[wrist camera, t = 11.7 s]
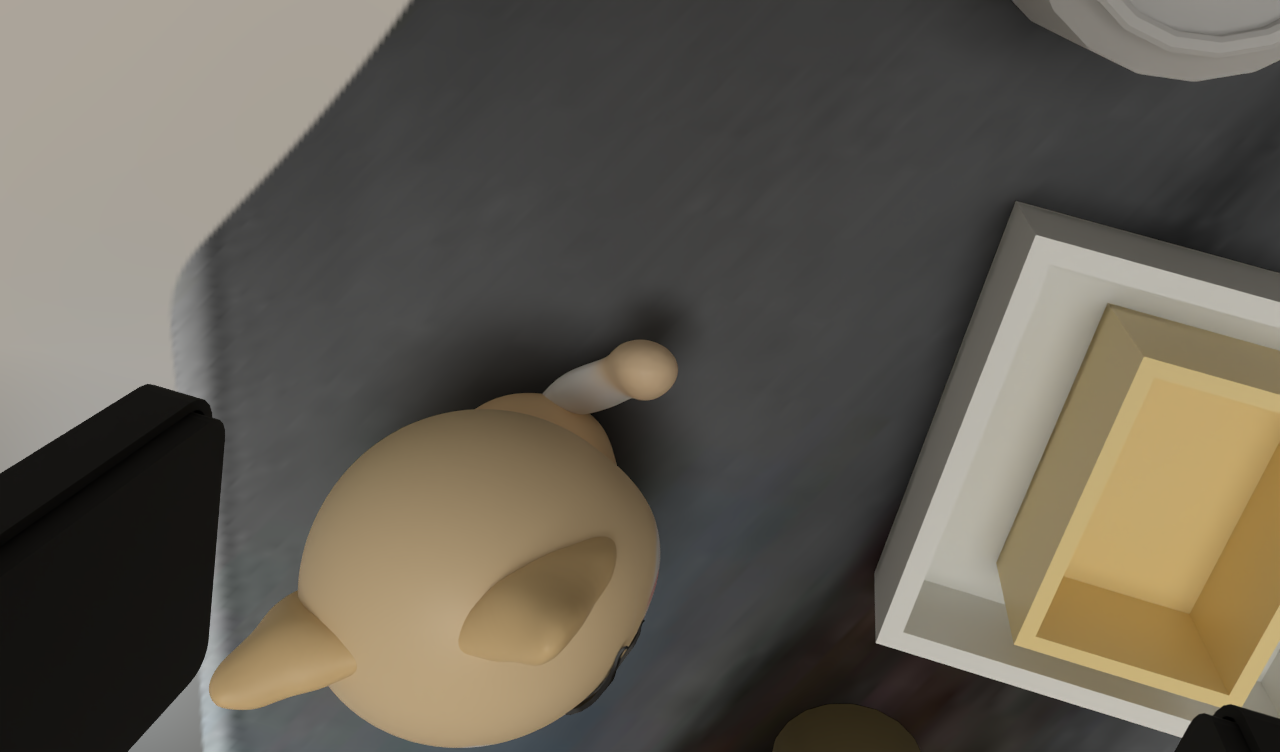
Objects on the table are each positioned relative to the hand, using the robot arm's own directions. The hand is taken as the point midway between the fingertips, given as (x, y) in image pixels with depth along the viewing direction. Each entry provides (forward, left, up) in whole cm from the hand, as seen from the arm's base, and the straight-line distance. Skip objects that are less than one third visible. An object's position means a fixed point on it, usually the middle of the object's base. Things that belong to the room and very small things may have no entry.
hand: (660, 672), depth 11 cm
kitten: (+14, -6, -28) cm, 32 cm away
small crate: (+7, +14, -27) cm, 32 cm away
